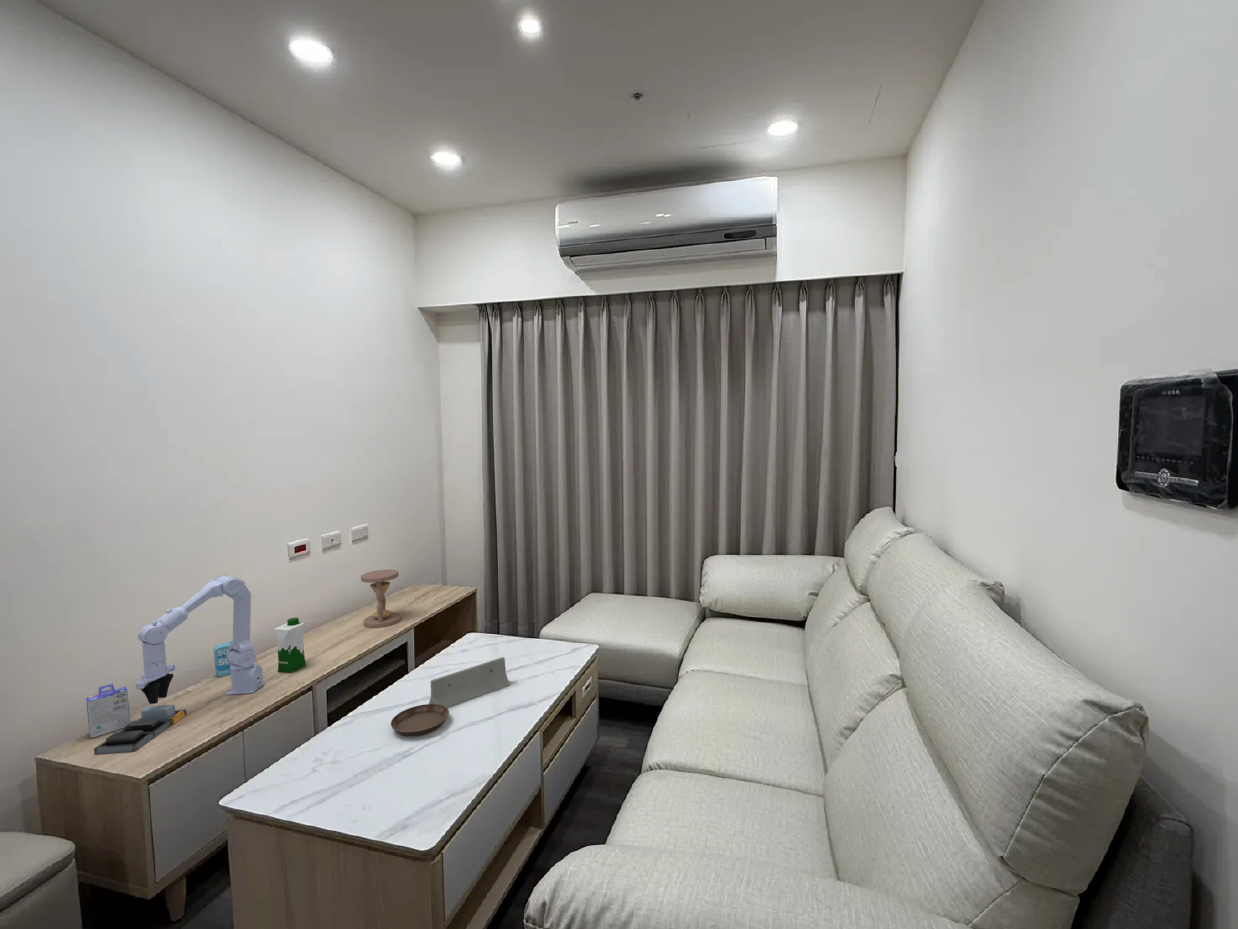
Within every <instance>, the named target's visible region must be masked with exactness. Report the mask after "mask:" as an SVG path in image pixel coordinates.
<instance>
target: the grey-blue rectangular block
mask: <svg viewBox="0 0 1238 929" xmlns="http://www.w3.org/2000/svg"><path fill="white" fill-rule="evenodd" d="M175 710H176V704H173V703H172V704H160V705H159V704H158V705H149V706H147V707H146V708H144V709H142V710H141V711H140V712H141V713H140V714H141V718H142V720H149V719H160V721H163V720H169V719H170V718H171V717H173V716H174V715H175Z"/></svg>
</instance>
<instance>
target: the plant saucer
mask: <svg viewBox="0 0 1238 929" xmlns="http://www.w3.org/2000/svg"><path fill="white" fill-rule="evenodd" d="M449 714H450V709H449V708H446V707H445V706H442V705H438V704H429V703H428V704H427V703H425V704H420V705H416V706H412V707H409V708H406V709H404V710H401V712H398V713H397V714H396V715H395V716H393V718H392V719H391V721H390V726H391V728H392V730H394V732H396V733H397V734H398V735H400V736H402V737H408V738H414V737H415V738H416V737H421V736H425V735H428V734H431V733H432V732H435V731H436V730H439V728H441V727H442V726H443V724H444V723H445V722H446V721H447V719H448V716H449Z"/></svg>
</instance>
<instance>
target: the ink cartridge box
mask: <svg viewBox="0 0 1238 929" xmlns="http://www.w3.org/2000/svg"><path fill="white" fill-rule="evenodd" d="M114 686H115V685H114V683H110V684H105V685H103V686H100V687H99V686H98V694H95V695H90V696H88V697H86V698H85V699H86V700H85V701H86V713H87V720H88V721H87V722H88V730H89V739H92V738H96V737H100V736H103V735H106V734H108V733H109V734H110V733H112V732H117V731H118V730H123V729H125V726H126V725H128V724H129V723H131V719H130V718H131V716H130V704H129V695H128V694H129V693H128V689H127V687H126V686H123V687H122V686H121V687H120V688H115V687H114ZM105 688H110V689H105ZM103 689H105V690H103Z"/></svg>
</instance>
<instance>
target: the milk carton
mask: <svg viewBox="0 0 1238 929" xmlns="http://www.w3.org/2000/svg"><path fill="white" fill-rule="evenodd" d="M304 628H305V622H300V621H299V617H292V618H291V617H290V618H288V619H287V623H285V624H284V623H283V624H281V625H280V626H278V627H274V628H273V631H274V635H275V638H276V644H277V646H276V647H277V659H278V661H277V664H278V665H277V673H289V674H293V673H295V672H297V671H298V670H300V669H302V668H304V667H307V664H306V657H305V649H304V648H305V646H304V645H305V644H304V643H305V642H304Z"/></svg>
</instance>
